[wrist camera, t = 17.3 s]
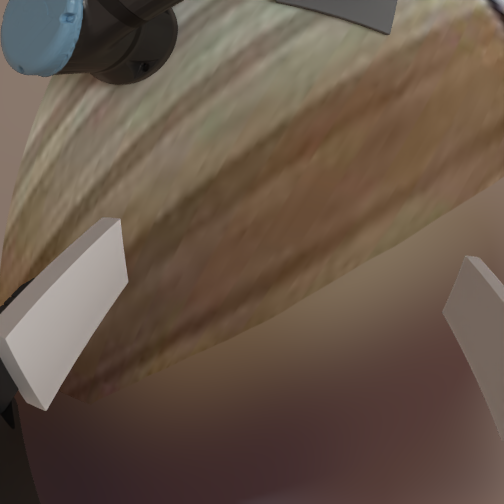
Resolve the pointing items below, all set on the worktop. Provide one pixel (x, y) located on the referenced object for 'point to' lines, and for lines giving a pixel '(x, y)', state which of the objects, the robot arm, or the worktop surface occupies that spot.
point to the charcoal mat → (354, 11)
